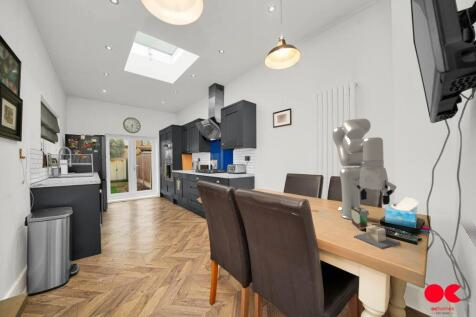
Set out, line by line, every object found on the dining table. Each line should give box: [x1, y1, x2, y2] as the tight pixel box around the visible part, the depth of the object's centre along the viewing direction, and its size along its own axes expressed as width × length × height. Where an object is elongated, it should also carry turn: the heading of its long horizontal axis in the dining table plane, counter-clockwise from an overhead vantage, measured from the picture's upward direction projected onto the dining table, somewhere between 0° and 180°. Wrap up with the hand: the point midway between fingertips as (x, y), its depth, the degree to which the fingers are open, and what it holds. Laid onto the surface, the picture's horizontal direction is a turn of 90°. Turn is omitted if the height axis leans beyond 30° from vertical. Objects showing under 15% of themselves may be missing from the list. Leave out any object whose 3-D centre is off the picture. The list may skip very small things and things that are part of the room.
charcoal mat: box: [353, 232, 401, 250], centre depth 82 cm, size 12×12×1 cm
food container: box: [351, 206, 370, 231], centre depth 97 cm, size 12×6×10 cm, turn 168°
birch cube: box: [365, 224, 387, 242], centre depth 82 cm, size 5×5×5 cm
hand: (374, 201), depth 82 cm, fingers open, 9 cm apart
